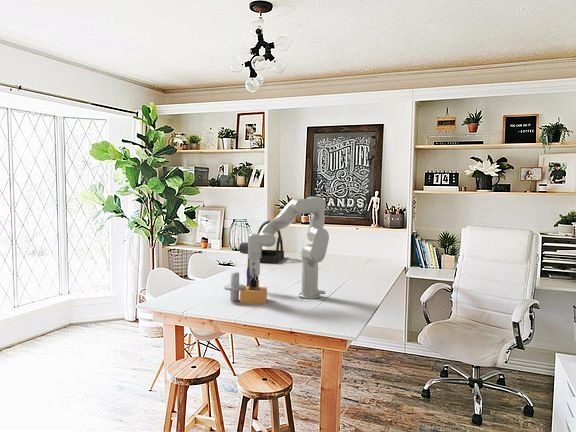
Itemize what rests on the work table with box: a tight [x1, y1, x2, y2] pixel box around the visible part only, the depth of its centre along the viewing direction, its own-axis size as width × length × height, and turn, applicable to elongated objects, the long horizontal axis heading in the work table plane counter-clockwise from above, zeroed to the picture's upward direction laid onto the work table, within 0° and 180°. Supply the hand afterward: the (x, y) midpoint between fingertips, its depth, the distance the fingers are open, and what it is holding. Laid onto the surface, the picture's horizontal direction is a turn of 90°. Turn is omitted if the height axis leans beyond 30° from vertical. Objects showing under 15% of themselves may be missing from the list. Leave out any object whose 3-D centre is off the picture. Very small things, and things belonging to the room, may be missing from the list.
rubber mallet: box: [238, 242, 251, 286], centre depth 291 cm, size 12×8×30 cm, turn 68°
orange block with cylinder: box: [223, 271, 268, 305], centre depth 265 cm, size 24×12×16 cm, turn 88°
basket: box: [257, 220, 285, 265], centre depth 402 cm, size 35×21×35 cm, turn 168°
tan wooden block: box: [249, 279, 260, 290], centre depth 265 cm, size 5×4×12 cm
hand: (254, 285), depth 264 cm, fingers open, 9 cm apart
